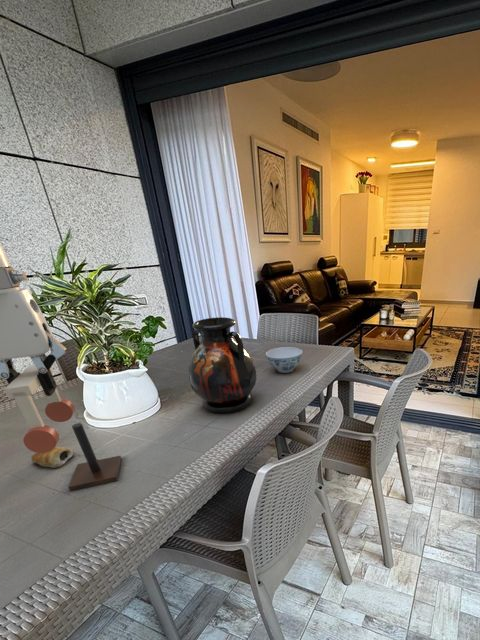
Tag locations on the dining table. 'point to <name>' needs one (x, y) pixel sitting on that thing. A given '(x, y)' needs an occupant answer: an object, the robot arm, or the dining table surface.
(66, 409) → the over-ear headset
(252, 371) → the amphora vase
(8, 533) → the dining table surface
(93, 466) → the headphone stand
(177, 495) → the dining table surface
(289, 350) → the chinaware
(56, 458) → the pastry
